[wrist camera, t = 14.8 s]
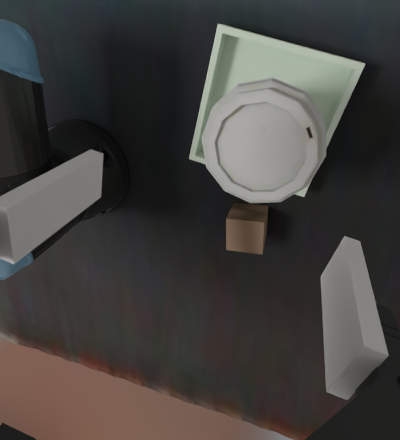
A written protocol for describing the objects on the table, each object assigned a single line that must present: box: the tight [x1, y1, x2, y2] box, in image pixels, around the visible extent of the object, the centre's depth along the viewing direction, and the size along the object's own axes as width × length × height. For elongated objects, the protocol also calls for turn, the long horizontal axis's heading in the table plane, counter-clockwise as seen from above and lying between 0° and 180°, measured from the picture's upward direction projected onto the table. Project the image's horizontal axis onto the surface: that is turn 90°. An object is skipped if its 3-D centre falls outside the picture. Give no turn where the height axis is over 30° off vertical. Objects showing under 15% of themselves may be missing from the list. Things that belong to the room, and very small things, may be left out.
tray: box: [189, 24, 365, 197], centre depth 38 cm, size 15×15×3 cm
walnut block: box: [226, 203, 268, 254], centre depth 45 cm, size 5×5×5 cm
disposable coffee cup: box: [201, 78, 326, 203], centre depth 32 cm, size 11×11×15 cm
